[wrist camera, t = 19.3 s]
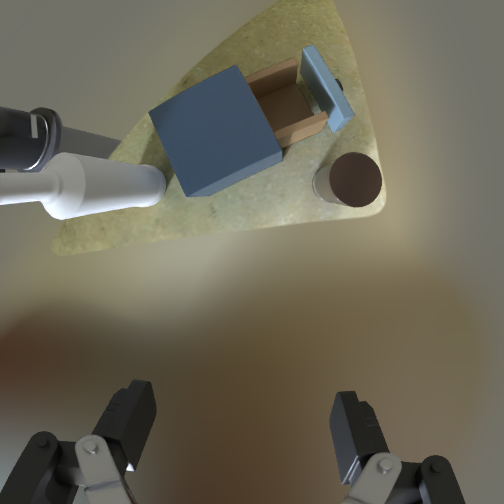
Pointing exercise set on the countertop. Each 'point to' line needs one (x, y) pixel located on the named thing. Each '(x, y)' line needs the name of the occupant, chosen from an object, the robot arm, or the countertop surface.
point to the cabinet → (215, 134)
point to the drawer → (299, 98)
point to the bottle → (84, 186)
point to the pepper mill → (349, 180)
